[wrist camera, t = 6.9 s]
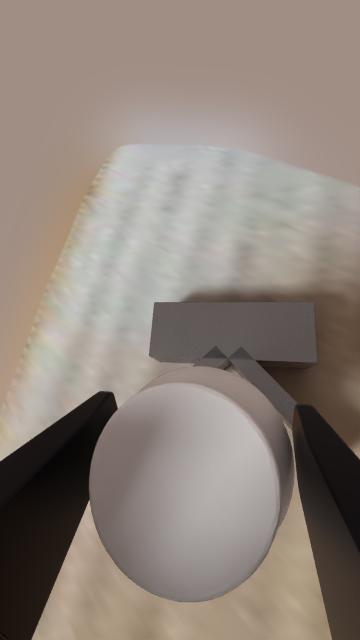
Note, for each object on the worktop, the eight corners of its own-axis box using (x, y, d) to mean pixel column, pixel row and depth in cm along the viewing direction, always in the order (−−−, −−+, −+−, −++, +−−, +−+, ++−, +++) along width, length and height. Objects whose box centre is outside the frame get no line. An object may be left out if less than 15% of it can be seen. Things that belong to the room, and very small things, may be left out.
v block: (340, 467, 19) (357, 479, 16) (131, 444, 22) (114, 450, 19) (329, 315, 21) (342, 301, 19) (145, 314, 25) (132, 302, 22)
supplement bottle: (207, 361, 16) (159, 303, 7) (293, 425, 14) (385, 464, 5) (147, 441, 15) (9, 495, 6) (230, 519, 14) (203, 749, 5)
